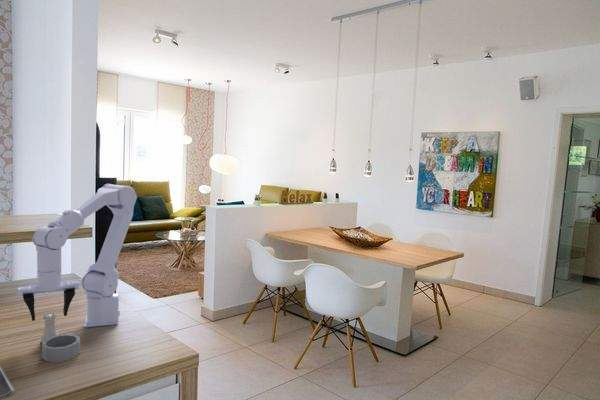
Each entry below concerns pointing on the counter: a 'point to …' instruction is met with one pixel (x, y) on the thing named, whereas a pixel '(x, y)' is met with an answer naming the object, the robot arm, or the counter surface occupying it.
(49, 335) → the rook chess piece
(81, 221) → the robot arm
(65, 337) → the grey faceted bowl
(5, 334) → the counter surface
